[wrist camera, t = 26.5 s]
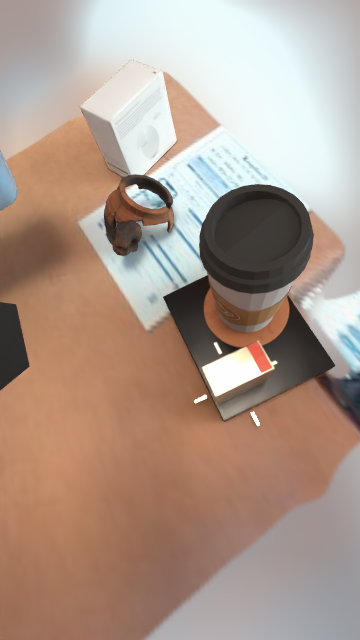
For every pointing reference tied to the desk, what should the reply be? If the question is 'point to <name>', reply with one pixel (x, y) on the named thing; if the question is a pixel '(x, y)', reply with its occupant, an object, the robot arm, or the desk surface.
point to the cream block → (238, 372)
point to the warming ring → (243, 338)
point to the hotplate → (284, 351)
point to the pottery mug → (134, 213)
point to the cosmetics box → (131, 119)
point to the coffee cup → (254, 252)
